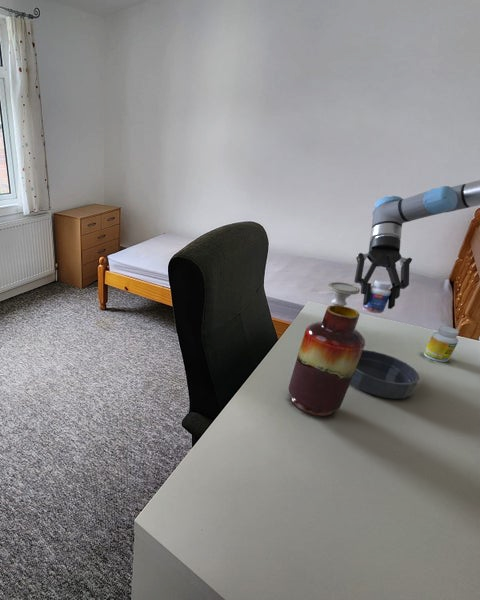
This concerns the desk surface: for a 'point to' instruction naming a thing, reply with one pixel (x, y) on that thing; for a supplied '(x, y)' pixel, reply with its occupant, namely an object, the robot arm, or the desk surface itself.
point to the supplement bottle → (442, 344)
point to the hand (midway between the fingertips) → (378, 305)
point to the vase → (326, 362)
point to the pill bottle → (378, 296)
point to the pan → (384, 376)
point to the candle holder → (342, 292)
